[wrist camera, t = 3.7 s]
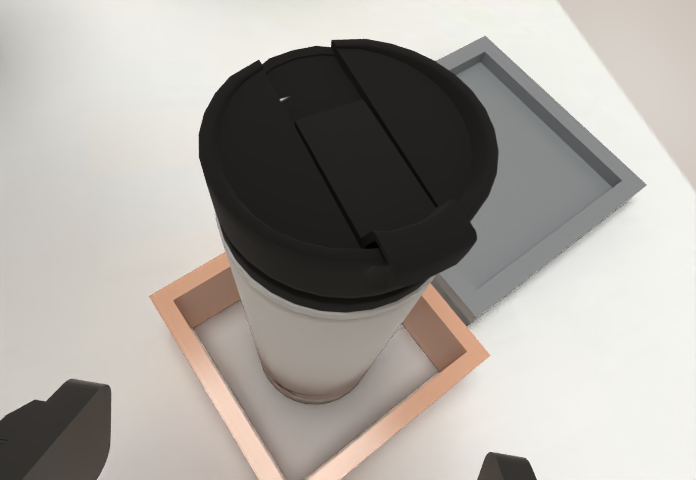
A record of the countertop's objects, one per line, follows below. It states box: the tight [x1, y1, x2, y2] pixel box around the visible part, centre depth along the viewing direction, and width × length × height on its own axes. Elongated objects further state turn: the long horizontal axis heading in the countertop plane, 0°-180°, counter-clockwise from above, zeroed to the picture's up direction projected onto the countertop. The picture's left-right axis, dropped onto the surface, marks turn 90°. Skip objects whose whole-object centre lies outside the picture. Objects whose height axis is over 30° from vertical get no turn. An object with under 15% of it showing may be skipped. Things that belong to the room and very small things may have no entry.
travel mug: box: [199, 39, 499, 404], centre depth 18 cm, size 6×7×20 cm
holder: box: [149, 252, 490, 480], centre depth 25 cm, size 12×12×5 cm
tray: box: [431, 36, 646, 326], centre depth 33 cm, size 16×16×2 cm
